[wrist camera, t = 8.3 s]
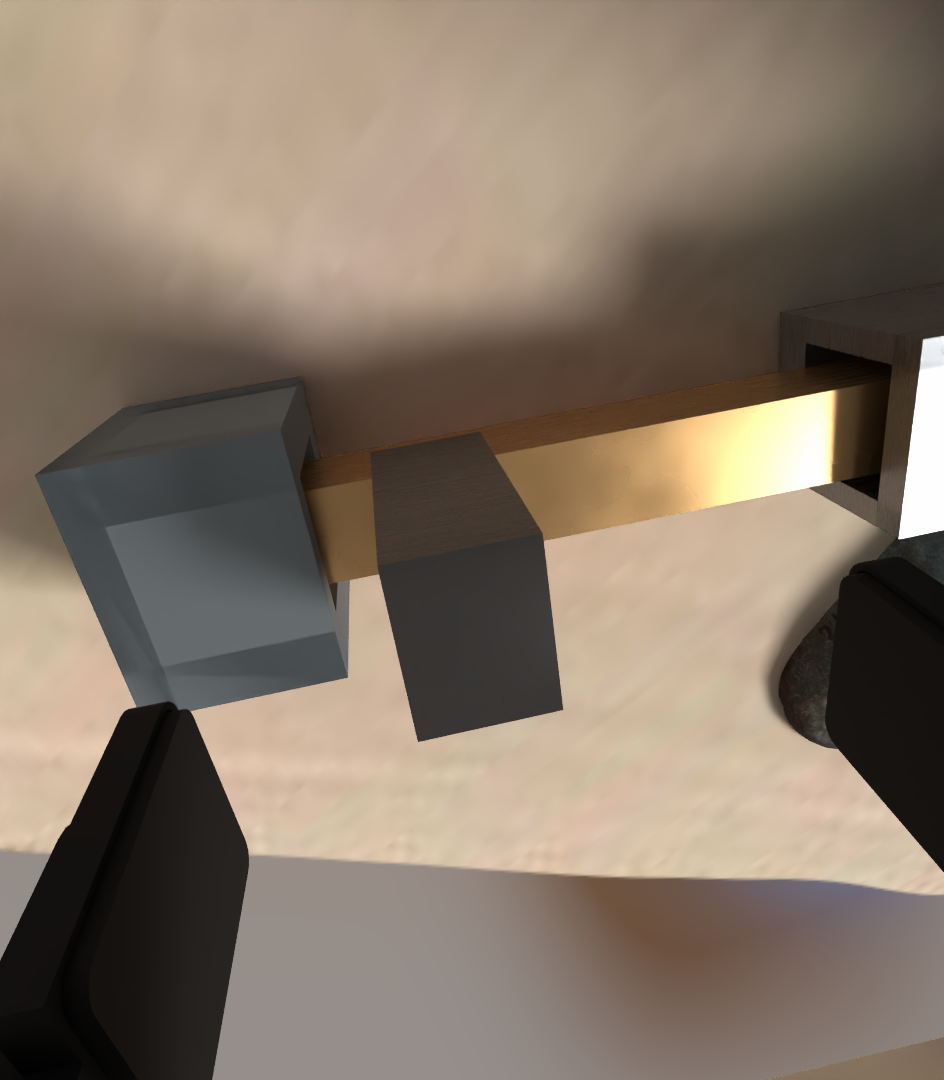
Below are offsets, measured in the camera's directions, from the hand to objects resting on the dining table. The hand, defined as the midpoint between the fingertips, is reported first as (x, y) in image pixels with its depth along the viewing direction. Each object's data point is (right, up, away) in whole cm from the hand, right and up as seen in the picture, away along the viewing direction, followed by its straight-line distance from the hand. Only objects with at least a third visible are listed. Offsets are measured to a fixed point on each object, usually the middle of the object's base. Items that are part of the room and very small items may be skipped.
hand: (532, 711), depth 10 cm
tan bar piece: (+2, +5, +12) cm, 13 cm away
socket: (-8, +4, +13) cm, 16 cm away
